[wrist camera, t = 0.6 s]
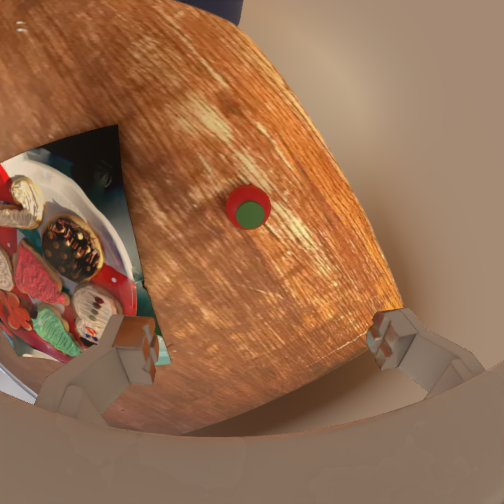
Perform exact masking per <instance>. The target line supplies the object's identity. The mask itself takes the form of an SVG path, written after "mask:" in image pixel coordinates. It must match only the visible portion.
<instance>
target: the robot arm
mask: <svg viewBox="0 0 504 504" xmlns="http://www.w3.org/2000/svg"><path fill="white" fill-rule="evenodd" d="M372 321H373V323H374V324H373V325H372V326H371V327H370V328H369V329H368V332H367V335H366V342H367V346H368V348H369V350H370V351H371V352H372V353H374V354H375V361H376V362H377V365H378V366H379V368H380V370H381V371H382V370H387V369H392V368H397V367H398V369H399V370H401V371H402V372H403V373H405V374H406V375H407V376H408V377H410V378H411V379H412V380H413V381H415V382H416V383H417V384H419V385H420V386H421V387H423V388H424V389H425V390H426V391H427V392H429V393H428V394H427V396H426V397H425V398H424V400H422V401H419V402H417V403H414V404H411V405H408V406H405V407H403V408H400V409H396V410H393V411H390V412H387V413H384V414H380V415H377V416H373V417H370V418H366V419H362V420H358V421H354V422H350V423H345V424H340V425H336V426H331V427H325V428H320V429H315V430H308V431H302V432H294V433H286V434H277V435H266V436H251V437H188V436H173V435H162V434H153V433H145V432H138V431H131V430H125V429H120V428H114V427H109V426H108V424H107V423H106V422H105V420H104V419H103V417H102V416H101V415H102V414H103V413H104V412H105V411H106V410H107V409H108V407H109V406H110V405H111V404H112V403H113V402H114V401H115V400H116V399H117V398H118V397H119V396H120V395H121V394H122V393H123V392H124V391H125V390H126V388H127V387H128V386H129V385H130V383H133V384H144V385H153V383H154V378H155V373H156V369H155V366H154V364H155V363H156V362H157V361H158V357H159V340H158V336H157V335H156V334H155V333H154V331H155V327H156V326H155V321H154V319H153V318H152V317H142V316H131V315H118V314H113V315H111V316H110V318H109V320H108V323H107V325H106V327H105V329H104V331H103V333H102V335H101V338H100V340H99V342H98V344H97V345H92V346H91V347H89V348H88V349H87V350H85V351H84V352H82V353H81V354H79V355H78V356H76V357H75V358H73V359H72V360H70V361H69V362H68V363H66V364H65V365H63V366H62V367H60V368H59V369H57V370H56V371H54V372H53V373H52V374H50V375H49V376H47V377H46V379H45V381H44V383H43V385H42V387H41V390H40V392H39V394H38V396H37V399H36V401H35V403H34V405H33V404H30V403H28V402H25V401H22V400H20V399H18V398H15V397H13V396H11V395H8V394H6V393H4V392H2V391H0V504H504V360H503V361H502V362H500V363H498V364H497V365H495V366H493V367H492V368H490V369H488V370H485V369H484V367H483V366H482V365H481V363H480V362H479V361H478V360H477V358H476V357H475V356H474V354H473V353H472V352H470V351H468V350H467V349H465V348H463V347H461V346H459V345H457V344H455V343H453V342H451V341H449V340H448V339H445V338H444V337H442V336H440V335H438V334H436V333H434V332H432V331H428V330H427V329H426V328H425V327H424V325H423V324H422V323H421V322H420V320H419V319H418V318H417V317H416V316H415V314H414V313H413V312H412V311H411V310H410V309H409V308H407V307H406V308H399V309H394V310H386V311H377V312H376V313H375V314H374V316H373V319H372Z"/></svg>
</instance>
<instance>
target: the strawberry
mask: <svg viewBox="0 0 504 504" xmlns="http://www.w3.org/2000/svg"><path fill="white" fill-rule="evenodd" d="M270 211H271V204H270V200H269V198H268V196H267V194H266V193H265V192H264V191H263V190H262V189H260V188H258V187H256V186H253V185H252V184H249V185H244V186H241V187H238V188H236V189H235V190H234V191H233V192H232V193H231V194H230V195H229V197H228V199H227V202H226V212H227V216H228V218H229V220H230V221H231V222H232V223H233V224H234V225H235V226H237V227H239V228H241V229H245V230H251V229H256V228H258V227H260V226H261V225H263V224H264V223H265V222H266V220H267V219H268V217H269V215H270Z"/></svg>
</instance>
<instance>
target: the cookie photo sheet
mask: <svg viewBox="0 0 504 504" xmlns="http://www.w3.org/2000/svg"><path fill="white" fill-rule="evenodd" d="M143 285H144V278H143V273H142V269H141V264H140V260H139V255H138V251H137V246H136V241H135V237H134V233H133V229H132V224H131V220H130V216H129V212H128V207H127V203H126V198H125V192H124V186H123V178H122V170H121V160H120V149H119V137H118V124H117V125H112V126H108V127H103V128H99V129H95V130H91V131H88V132H84V133H80V134H77V135H74V136H70V137H67V138H64V139H61V140H58V141H55V142H52V143H49V144H46V145H43V146H40V147H37V148H35V149H32V150H29V151H27V152H24V153H22V154H20V155H17V156H15V157H13V158H11V159H9V160H6V161H4V162H2V163H0V326H1V328H2V330H3V332H4V334H5V336H6V338H7V339H8V341H9V343H10V344H11V346H12V347H13V349H14V351H15V352H16V354H17V355H18V356H25V357H40V358H47V359H51V360H55V361H59V362H62V363H68V362H69V361H70V360H72V359H73V358H75V357H76V356H78V355H79V354H81V353H82V352H84V351H85V350H87V349H88V348H89V347H91V346H92V345H97V344H98V342H99V340H100V338H101V335H102V333H103V331H104V329H105V327H106V325H107V323H108V320H109V318H110V316H111V315H113V314H118V315H131V316H142V317H152V318H153V319H154V321H155V326H156V327H155V331H154V333H155V334H156V335H157V336H158V340H159V357H158V361H157V362H156V363H155V364H154V365H162V364H171V361H170V358H169V355H168V352H167V349H166V346H165V343H164V340H163V338H162V335H161V332H160V329H159V326H158V323H157V320H156V317H155V314H154V311H153V308H152V304H151V301H150V298H149V295H148V292H147V291H146V290H145V289H144V288H143V287H142V286H143Z"/></svg>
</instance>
